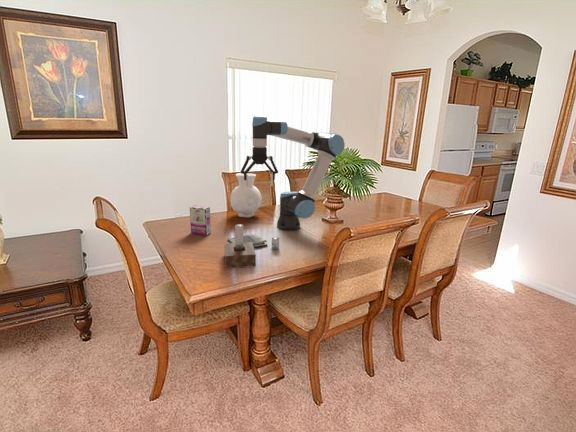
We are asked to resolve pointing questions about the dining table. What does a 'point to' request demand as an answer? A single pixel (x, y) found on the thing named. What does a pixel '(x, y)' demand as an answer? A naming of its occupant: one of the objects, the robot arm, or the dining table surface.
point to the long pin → (239, 237)
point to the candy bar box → (200, 220)
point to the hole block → (240, 256)
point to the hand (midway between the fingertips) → (259, 186)
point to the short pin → (275, 243)
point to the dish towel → (252, 240)
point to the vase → (245, 196)
